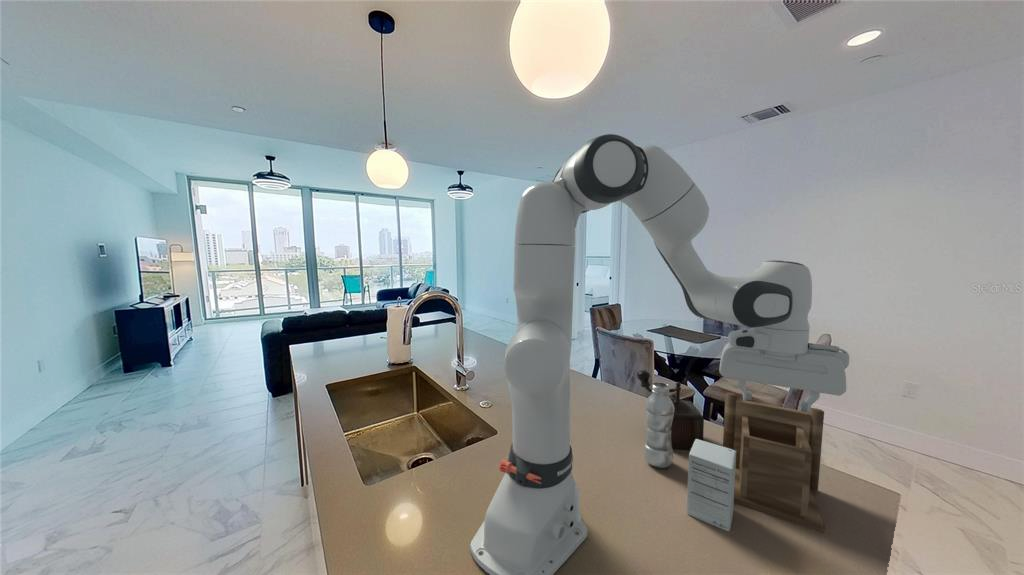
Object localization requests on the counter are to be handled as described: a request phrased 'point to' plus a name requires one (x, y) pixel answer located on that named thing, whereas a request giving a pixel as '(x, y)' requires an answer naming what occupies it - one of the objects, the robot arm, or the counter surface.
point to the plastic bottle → (659, 426)
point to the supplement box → (711, 483)
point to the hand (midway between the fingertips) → (774, 405)
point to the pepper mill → (680, 417)
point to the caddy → (775, 458)
